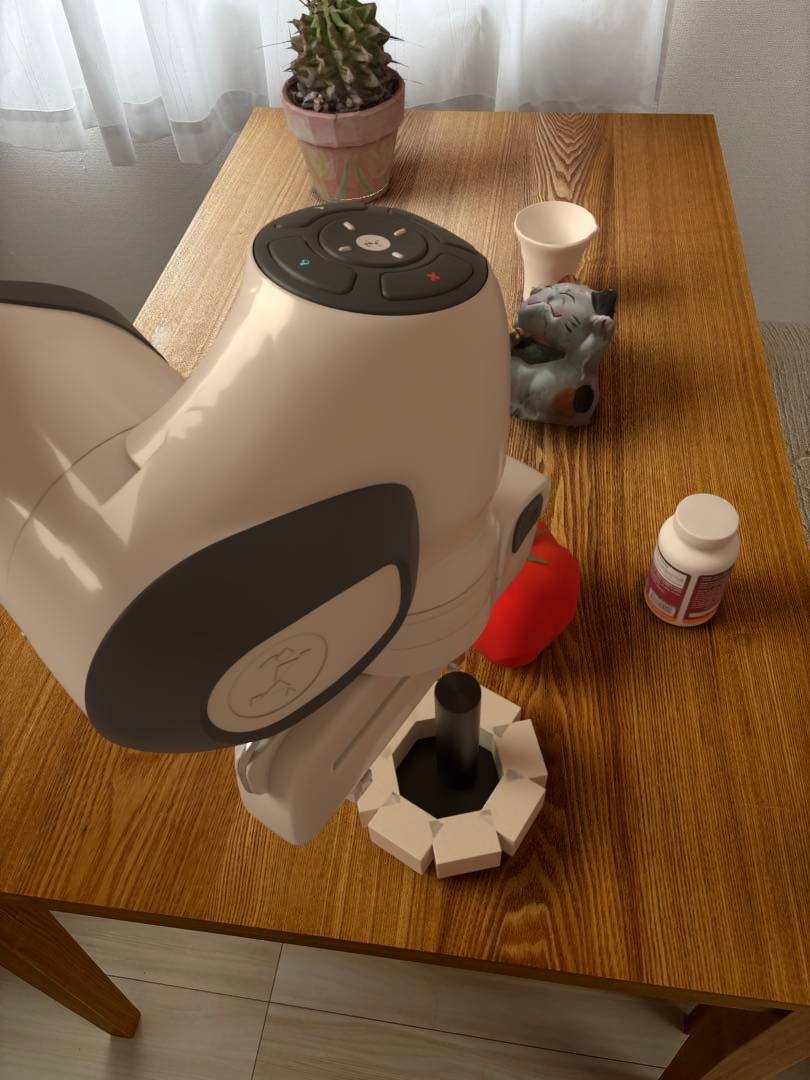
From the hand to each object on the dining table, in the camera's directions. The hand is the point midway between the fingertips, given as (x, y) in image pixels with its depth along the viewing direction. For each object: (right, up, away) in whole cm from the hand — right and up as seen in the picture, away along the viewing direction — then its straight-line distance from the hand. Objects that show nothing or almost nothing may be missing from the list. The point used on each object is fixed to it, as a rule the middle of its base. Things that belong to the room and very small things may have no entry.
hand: (403, 719), depth 48 cm
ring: (+3, -8, +15) cm, 18 cm away
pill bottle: (+24, +5, +26) cm, 35 cm away
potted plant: (-6, +58, +70) cm, 91 cm away
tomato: (+9, +3, +25) cm, 27 cm away
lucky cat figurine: (+14, +25, +43) cm, 52 cm away
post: (+4, -8, +17) cm, 19 cm away
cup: (+17, +38, +53) cm, 67 cm away
